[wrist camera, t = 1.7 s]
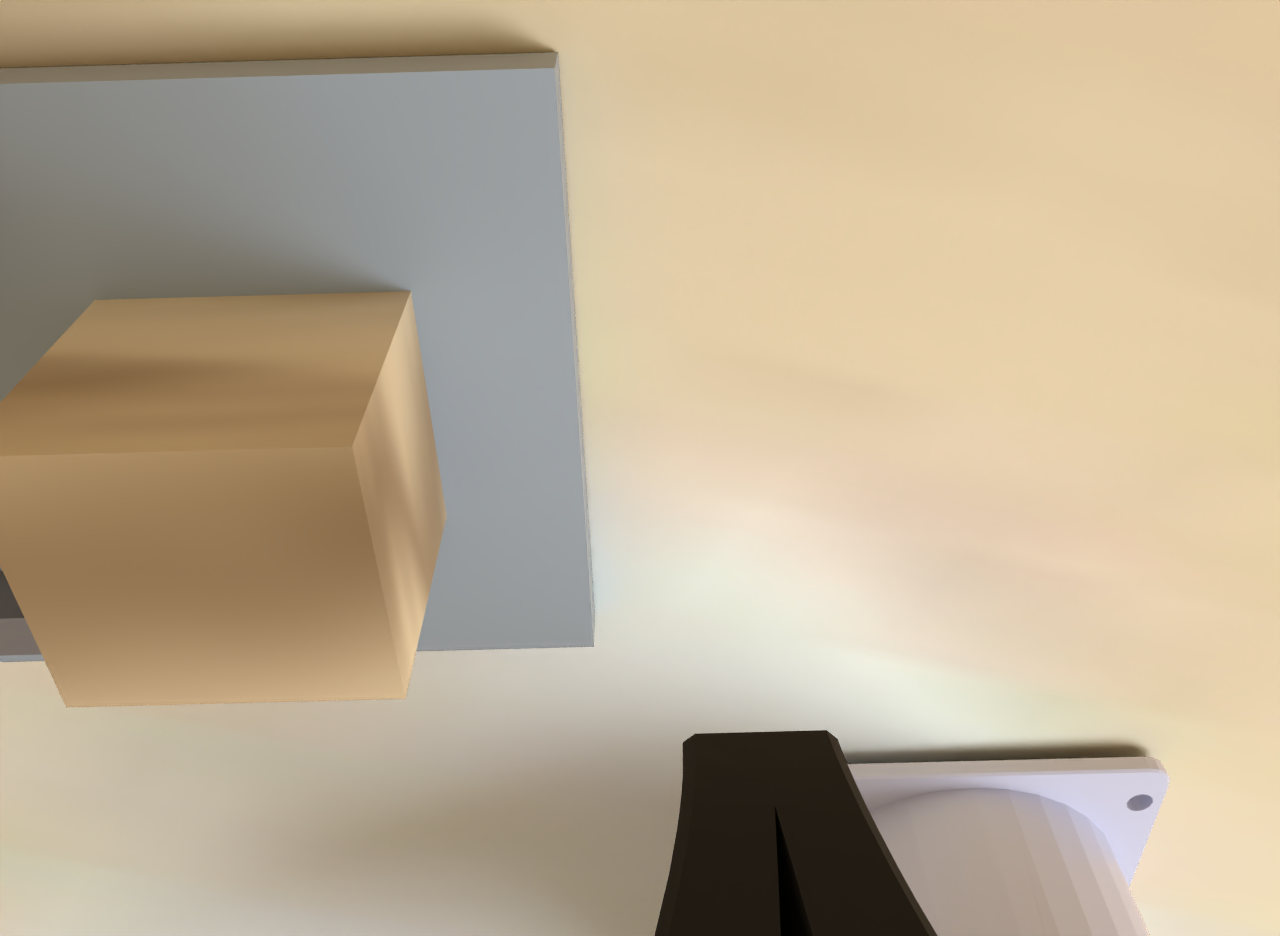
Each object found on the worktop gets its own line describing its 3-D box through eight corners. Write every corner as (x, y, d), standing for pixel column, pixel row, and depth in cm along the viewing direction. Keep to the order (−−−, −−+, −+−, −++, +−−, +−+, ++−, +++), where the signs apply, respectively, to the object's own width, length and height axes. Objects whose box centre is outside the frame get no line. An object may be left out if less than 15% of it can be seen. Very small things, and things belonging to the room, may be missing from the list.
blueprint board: (594, 616, 20) (591, 696, 18) (-214, 637, 20) (-289, 718, 18) (558, 52, 14) (549, 94, 13) (-571, 84, 14) (-727, 130, 13)
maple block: (446, 515, 18) (405, 698, 14) (171, 523, 18) (66, 706, 14) (410, 291, 15) (351, 446, 12) (94, 299, 15) (-52, 457, 12)
